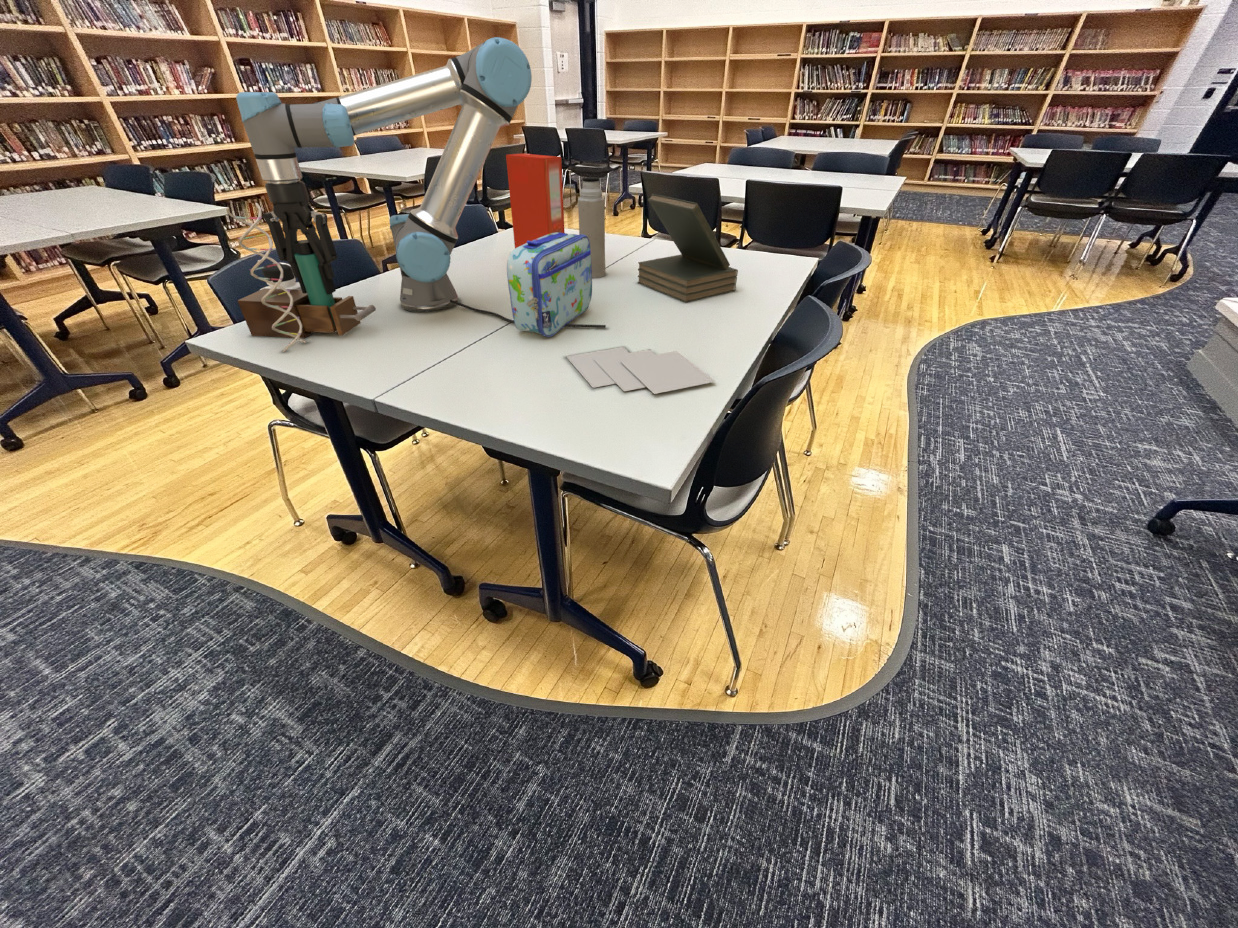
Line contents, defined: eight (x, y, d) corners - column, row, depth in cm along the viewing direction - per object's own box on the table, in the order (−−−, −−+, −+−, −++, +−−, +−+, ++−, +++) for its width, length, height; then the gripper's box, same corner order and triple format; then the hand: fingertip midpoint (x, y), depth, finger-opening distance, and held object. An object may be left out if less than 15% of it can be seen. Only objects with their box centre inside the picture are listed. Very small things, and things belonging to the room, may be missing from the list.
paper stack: (609, 406, 99) (609, 403, 99) (565, 356, 118) (565, 353, 118) (715, 384, 107) (716, 381, 107) (659, 340, 126) (659, 338, 125)
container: (296, 321, 136) (277, 269, 129) (270, 319, 137) (250, 267, 130) (316, 311, 142) (299, 261, 135) (290, 309, 143) (273, 259, 136)
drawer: (381, 324, 132) (374, 296, 128) (364, 336, 125) (356, 308, 122) (313, 321, 134) (304, 294, 130) (293, 333, 127) (283, 305, 123)
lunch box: (546, 344, 124) (538, 250, 112) (508, 336, 128) (497, 245, 116) (598, 310, 143) (596, 227, 131) (564, 305, 147) (559, 223, 135)
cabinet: (326, 324, 135) (315, 290, 130) (304, 338, 127) (291, 302, 122) (276, 322, 136) (263, 288, 131) (251, 336, 128) (236, 300, 123)
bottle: (345, 320, 131) (320, 239, 120) (333, 328, 127) (307, 244, 116) (325, 319, 132) (299, 238, 121) (313, 327, 127) (285, 243, 116)
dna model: (290, 355, 119) (234, 208, 101) (273, 349, 121) (215, 205, 104) (317, 345, 123) (268, 203, 106) (299, 339, 126) (249, 200, 109)
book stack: (735, 291, 158) (747, 198, 144) (685, 302, 149) (692, 205, 135) (685, 273, 174) (691, 188, 159) (637, 283, 165) (639, 193, 150)
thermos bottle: (575, 275, 171) (571, 177, 155) (591, 270, 177) (588, 175, 161) (595, 279, 168) (592, 180, 152) (610, 273, 173) (609, 177, 157)
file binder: (532, 254, 194) (523, 153, 176) (566, 262, 185) (561, 156, 167) (515, 258, 189) (505, 155, 171) (549, 266, 180) (542, 158, 162)
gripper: (334, 179, 114) (364, 288, 127) (255, 178, 115) (292, 286, 129) (314, 184, 108) (347, 298, 121) (231, 183, 109) (273, 295, 122)
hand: (319, 292), depth 125 cm, fingers closed on bottle, 5 cm apart
